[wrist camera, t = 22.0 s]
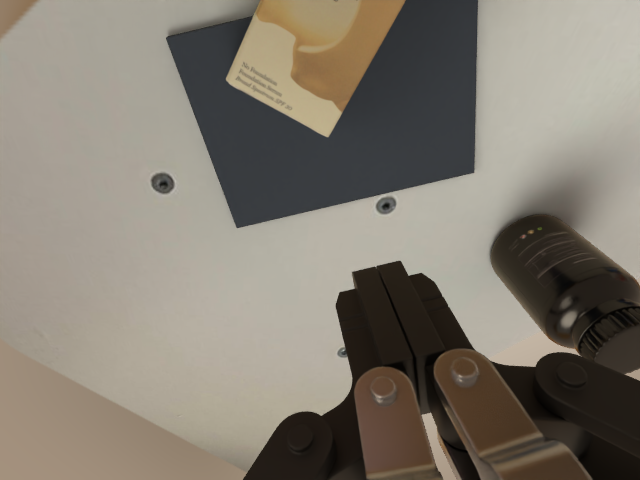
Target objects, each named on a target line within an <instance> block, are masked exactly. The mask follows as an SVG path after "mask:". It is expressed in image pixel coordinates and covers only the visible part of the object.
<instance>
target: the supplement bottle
mask: <svg viewBox="0 0 640 480" xmlns="http://www.w3.org/2000/svg"><path fill="white" fill-rule="evenodd" d="M491 264H492V267H493V270H494V271H495V273H496V274H497V275H498V277H499V278H500V279H501V281H502V282H503V283H504V284H505V286H506V287H507V288H508V289H509V291H510V292H511V293H512V294H513V295H514V297H515V298H516V299H517V300H518V302H519V303H520V304H521V305H522V307H523V308H524V309H525V310H526V312H527V313H528V314H529V315H530V317H531V318H532V319H533V320H534V321H535V323H536V324H537V325H538V326H539V328H540V329H541V330H542V331H543V332H544V334H545V335H546V336H547V337H548V338H549V339H550V340H552V341H553V342H555V343H556V344H559V345H561V346H564V347H567V348H573V349H576V351H577V352H578V353H579V354H580V355H581V356H582V357H584V358H586V359H588V360H591V361H593V362H596V363H598V364H600V365H603V366H605V367H608V368H610V369H612V370H615V371H617V372H620V373H622V374H626V373H631V372H633V371H634V370H638V369H640V286H639V284H638V282H637V281H636V279H635V278H634V277H633V276H631V275H630V274H629V273H628V272H627V271H625V270H624V269H623V268H622V267H620V266H619V265H618V264H617V263H615V262H614V261H613V260H611V259H610V258H609V257H608V256H606V255H605V254H604V253H603V252H601V251H600V250H599V249H598V248H596V247H595V246H594V245H592V244H591V243H590V242H589V241H587V240H586V239H585V238H584V237H582V236H581V235H580V234H578V233H577V232H576V231H575V230H573V229H572V228H571V227H570V226H568V225H567V224H565V223H564V222H563V221H561V220H560V219H558V218H556V217H554V216H550V215H544V214H539V215H532V216H528V217H525V218H522V219H520V220H518V221H516V222H514V223H513V224H511V225H510V226H508V227H507V228H506V229H505V230H504V231H503V232H502V233H501V234H500V235H499V237H498V238H497V240H496V241H495V243H494V245H493V248H492V252H491Z"/></svg>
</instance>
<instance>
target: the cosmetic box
mask: <svg viewBox="0 0 640 480" xmlns="http://www.w3.org/2000/svg"><path fill="white" fill-rule="evenodd" d="M405 1H406V0H260V2H259V5H258V7H257V9H256V11H255V14H254V16H253V18H252V21H251V23H250V25H249V27H248V30H247V32H246V34H245V36H244V39H243V41H242V43H241V45H240V48H239V50H238V52H237V55H236V57H235V59H234V61H233V64H232V66H231V68H230V71H229V73H228V75H227V77H226V81H227V82H228V83H229V84H230V85H231V86H233V87H235V88H236V89H238V90H241V91H242V92H244V93H246V94H248V95H250V96H251V97H253V98H255V99H257V100H259V101H261V102H263V103H265V104H266V105H268V106H270V107H272V108H274V109H276V110H278V111H280V112H282V113H284V114H285V115H287V116H289V117H291V118H293V119H294V120H296V121H298V122H300V123H302V124H303V125H305V126H307V127H309V128H311V129H312V130H314V131H316V132H317V133H319V134H321V135H323V136H326V137H329V135H330V134H331V132H332V130H333V129H334V127H335V125H336V123H337V121H338V120H339V118H340V116H341V114H342V112H343V111H344V109H345V107H346V105H347V103H348V102H349V100H350V98H351V96H352V95H353V93H354V91H355V89H356V88H357V86H358V84H359V82H360V81H361V79H362V77H363V75H364V74H365V72H366V70H367V68H368V66H369V65H370V63H371V61H372V59H373V58H374V56H375V54H376V52H377V51H378V49H379V47H380V45H381V43H382V42H383V40H384V38H385V36H386V35H387V33H388V31H389V29H390V27H391V26H392V24H393V22H394V20H395V19H396V17H397V15H398V13H399V12H400V10H401V8H402V6H403V4H404V3H405Z"/></svg>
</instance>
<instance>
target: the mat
mask: <svg viewBox="0 0 640 480" xmlns="http://www.w3.org/2000/svg"><path fill="white" fill-rule="evenodd" d="M477 12H478V0H406V1H405V3H404V4H403V6H402V8H401V10H400V12H399V13H398V15H397V17H396V19H395V20H394V22H393V24H392V26H391V27H390V29H389V31H388V33H387V35H386V36H385V38H384V40H383V42H382V43H381V45H380V47H379V49H378V51H377V52H376V54H375V56H374V58H373V59H372V61H371V63H370V65H369V66H368V68H367V70H366V72H365V74H364V75H363V77H362V79H361V81H360V82H359V84H358V86H357V88H356V89H355V91H354V93H353V95H352V96H351V98H350V100H349V102H348V103H347V105H346V107H345V109H344V111H343V112H342V114H341V116H340V118H339V120H338V121H337V123H336V125H335V127H334V129H333V130H332V132H331V134H330V135H329V137H326V136H323V135H321V134H319V133H317V132H316V131H314V130H312V129H311V128H309V127H307V126H305V125H303V124H302V123H300V122H298V121H296V120H294V119H293V118H291V117H289V116H287V115H285V114H284V113H282V112H280V111H278V110H276V109H274V108H272V107H270V106H268V105H266V104H265V103H263V102H261V101H259V100H257V99H255V98H253V97H251V96H250V95H248V94H246V93H244V92H242V91H241V90H238V89H236V88H235V87H233V86H231V85H230V84H229V83H228V82H227V81H226V77H227V75H228V73H229V71H230V68H231V66H232V64H233V61H234V59H235V57H236V55H237V52H238V50H239V48H240V45H241V43H242V41H243V39H244V36H245V34H246V32H247V30H248V27H249V25H250V23H251V21H252V18H253V16H251V17H247V18H243V19H239V20H235V21H230V22H226V23H222V24H218V25H214V26H209V27H205V28H201V29H197V30H193V31H188V32H184V33H180V34H176V35H172V36H168V37H167V38H166V40H167V42H168V45H169V48H170V50H171V53H172V56H173V58H174V61H175V64H176V66H177V69H178V72H179V74H180V77H181V80H182V82H183V85H184V88H185V90H186V93H187V96H188V98H189V101H190V104H191V107H192V109H193V112H194V115H195V117H196V120H197V123H198V125H199V128H200V131H201V133H202V136H203V139H204V141H205V144H206V147H207V149H208V152H209V155H210V157H211V160H212V163H213V165H214V168H215V171H216V174H217V176H218V179H219V182H220V184H221V187H222V190H223V192H224V195H225V198H226V200H227V203H228V206H229V208H230V211H231V214H232V216H233V219H234V222H235V224H236V227H237V228H240V227H244V226H248V225H252V224H257V223H261V222H265V221H269V220H274V219H278V218H282V217H287V216H291V215H295V214H299V213H304V212H308V211H312V210H316V209H321V208H325V207H329V206H333V205H338V204H342V203H346V202H351V201H355V200H359V199H363V198H368V197H372V196H376V195H380V194H385V193H389V192H393V191H397V190H402V189H406V188H410V187H414V186H419V185H423V184H427V183H432V182H436V181H440V180H444V179H449V178H453V177H457V176H461V175H466V174H470V173H474V157H475V108H476V60H477Z"/></svg>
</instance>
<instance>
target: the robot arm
mask: <svg viewBox="0 0 640 480" xmlns="http://www.w3.org/2000/svg"><path fill="white" fill-rule="evenodd" d="M352 276H353V282H354V287H355V289H352V290H348V291H344V292H340V293H339V296H338V299H337V303H336V310H337V314H338V318H339V322H340V327H341V331H342V335H343V339H344V344H345V348H346V352H347V356H348V360H349V364H350V369H351V373H352V378H353V379H352V387H351V390H350V392H349V394H348V396H347V397H346V398H345V400H344V401H343V402H342V403H341V404H340V405H338V406H337V407H335V408H334V409H332V410H330V411H329V412H327V413H325V414H324V415H322V416H320V415H319V414H317V413H314V412H298V413H295V414H293V415H291V416H289V417H287V418H286V419H285V420H283V421H282V422H281V423H280V424H279V426H278V427H277V428H276V430H275V431H274V433H273V434H272V436H271V437H270V439H269V441H268V442H267V444H266V445H265V447H264V448H263V450H262V451H261V453H260V454H259V456H258V457H257V459H256V460H255V462H254V463H253V465H252V467H251V468H250V470H249V471H248V473H247V474H246V476H245V477H244V479H243V480H443V477H442V475H441V473H440V472H439V471H438V469H437V467H436V464H435V460H434V457H433V454H432V450H431V447H430V443H429V440H428V436H427V433H426V429H425V426H424V422H423V419H422V416H421V415H422V414H427V413H430V412H431V413H432V416H433V418H434V421H435V423H436V426H437V436H438V440H439V443H440V446H441V448H442V450H443V452H444V454H445V456H446V458H447V460H448V462H449V464H450V466H451V468H452V470H453V473H454V475H455V477H456V479H457V480H640V381H639V380H636V379H634V378H632V377H629V376H627V375H624V374H622V373H620V372H617V371H615V370H612V369H610V368H608V367H605V366H603V365H600V364H598V363H596V362H593V361H591V360H588V359H586V358H584V357H581V356H578V355H575V354H571V353H564V352H557V353H551V354H548V355H546V356H544V357H542V358H541V359H540V360H539V361H538V362H537V365H536V367H526V366H525V367H524V366H508V365H502V364H498V363H495V362H492V361H490V360H489V359H488V358H486V357H485V356H484V355H482V354H481V353H479V352H477V351H476V350H475V349H474V348H473V347H472V345H471V344H470V342H469V340H468V338H467V337H466V335H465V333H464V332H463V330H462V328H461V327H460V325H459V323H458V321H457V320H456V318H455V316H454V315H453V313H452V311H451V309H450V308H449V307H448V304H447V303H446V301H445V299H444V297H442V294H441V292H440V291H439V289H438V287H437V285H436V284H435V282H434V281H432V280H431V279H429V278H428V277H427V276H425V275H424V274H422V273H419V274H415V275H410V276H408V274H407V272H406V270H405V268H404V266H403V264H402V262H401V261H396V262H392V263H388V264H383V265H379V266H377V267H371V268H367V269H363V270H359V271H354V272H352Z"/></svg>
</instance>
